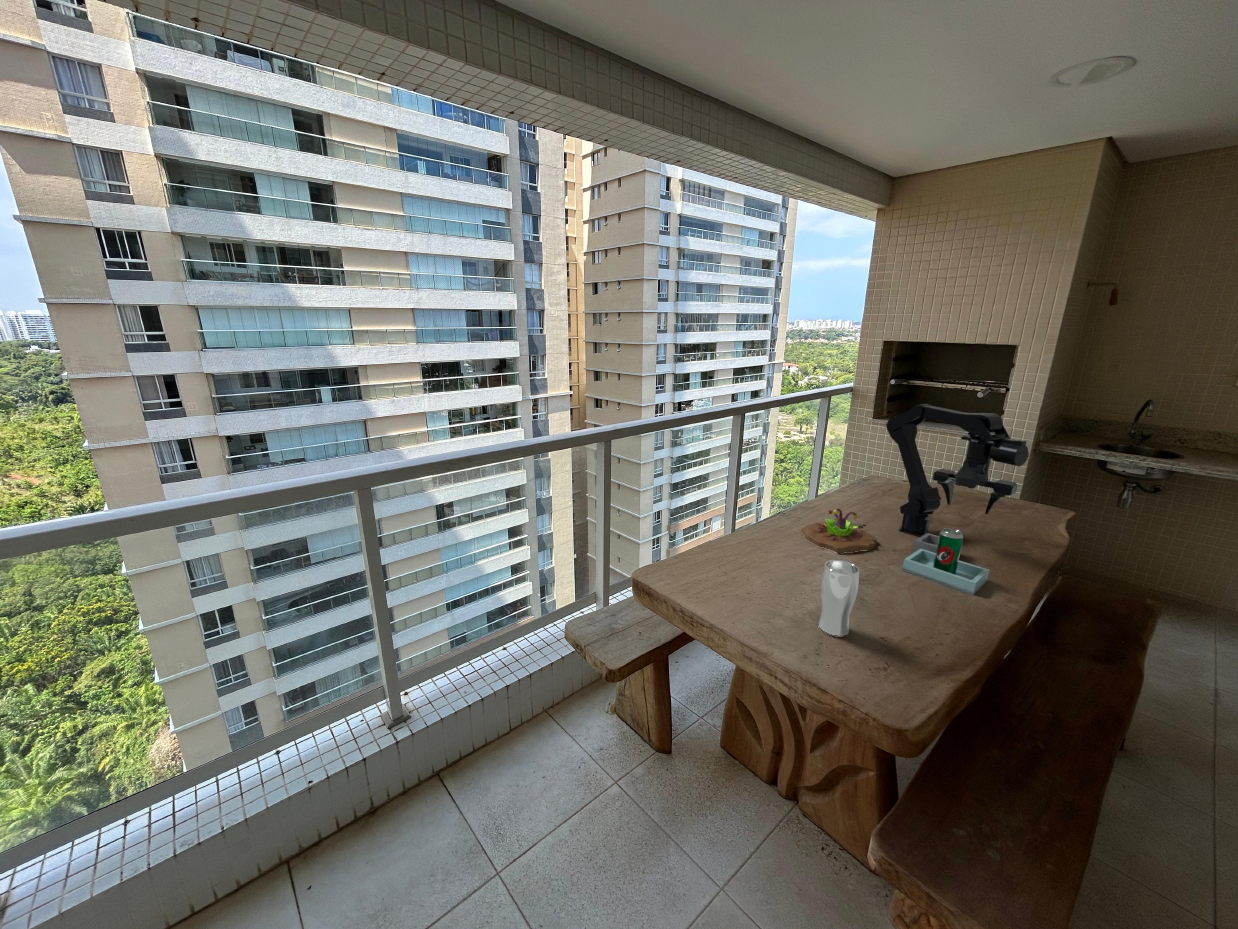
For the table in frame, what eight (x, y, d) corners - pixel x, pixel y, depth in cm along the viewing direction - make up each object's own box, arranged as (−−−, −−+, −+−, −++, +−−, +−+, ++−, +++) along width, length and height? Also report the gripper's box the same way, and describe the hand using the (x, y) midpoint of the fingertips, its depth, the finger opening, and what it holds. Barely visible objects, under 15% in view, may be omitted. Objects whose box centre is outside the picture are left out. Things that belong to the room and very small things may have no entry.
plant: (789, 534, 148) (793, 501, 145) (832, 524, 156) (836, 494, 153) (840, 560, 131) (845, 523, 128) (886, 548, 138) (892, 513, 135)
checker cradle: (913, 553, 134) (915, 539, 133) (925, 545, 139) (927, 531, 138) (948, 564, 127) (951, 550, 126) (959, 555, 132) (962, 541, 131)
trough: (902, 570, 124) (904, 559, 123) (918, 559, 130) (920, 548, 129) (972, 595, 112) (975, 583, 111) (986, 581, 118) (989, 569, 117)
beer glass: (810, 620, 102) (817, 559, 98) (839, 619, 102) (848, 558, 98) (826, 640, 95) (835, 575, 91) (858, 638, 95) (867, 574, 92)
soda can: (959, 578, 118) (968, 535, 115) (937, 576, 119) (945, 534, 116) (950, 569, 123) (958, 528, 120) (929, 567, 124) (936, 526, 121)
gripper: (929, 455, 131) (920, 506, 135) (1011, 469, 117) (998, 525, 121) (944, 450, 138) (935, 498, 142) (1023, 462, 123) (1010, 516, 127)
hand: (967, 509), depth 133 cm, fingers open, 9 cm apart
